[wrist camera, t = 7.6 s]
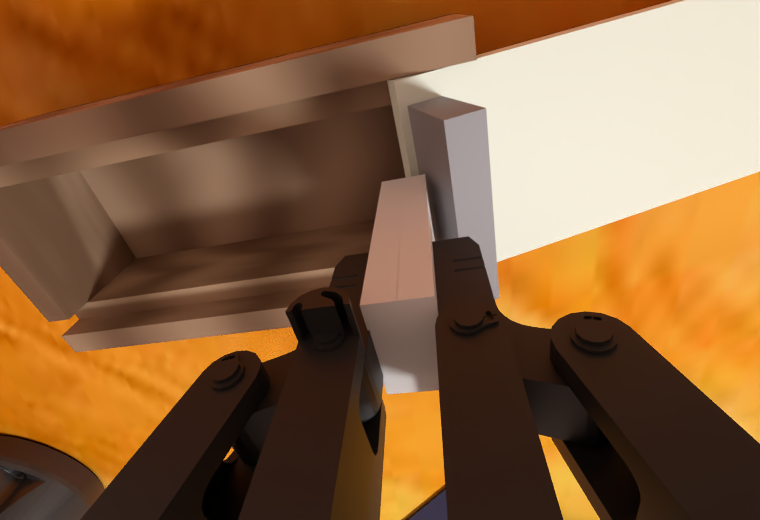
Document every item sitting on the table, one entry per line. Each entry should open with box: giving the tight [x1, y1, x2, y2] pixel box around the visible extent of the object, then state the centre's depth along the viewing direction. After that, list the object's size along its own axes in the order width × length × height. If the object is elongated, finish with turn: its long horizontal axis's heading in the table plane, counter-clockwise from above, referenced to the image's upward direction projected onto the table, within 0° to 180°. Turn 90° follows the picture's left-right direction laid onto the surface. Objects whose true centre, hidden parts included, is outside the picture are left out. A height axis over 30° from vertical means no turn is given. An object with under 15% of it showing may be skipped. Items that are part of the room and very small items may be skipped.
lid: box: [387, 0, 760, 299], centre depth 14 cm, size 19×8×4 cm, turn 102°
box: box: [0, 14, 477, 352], centre depth 19 cm, size 22×11×6 cm, turn 102°
